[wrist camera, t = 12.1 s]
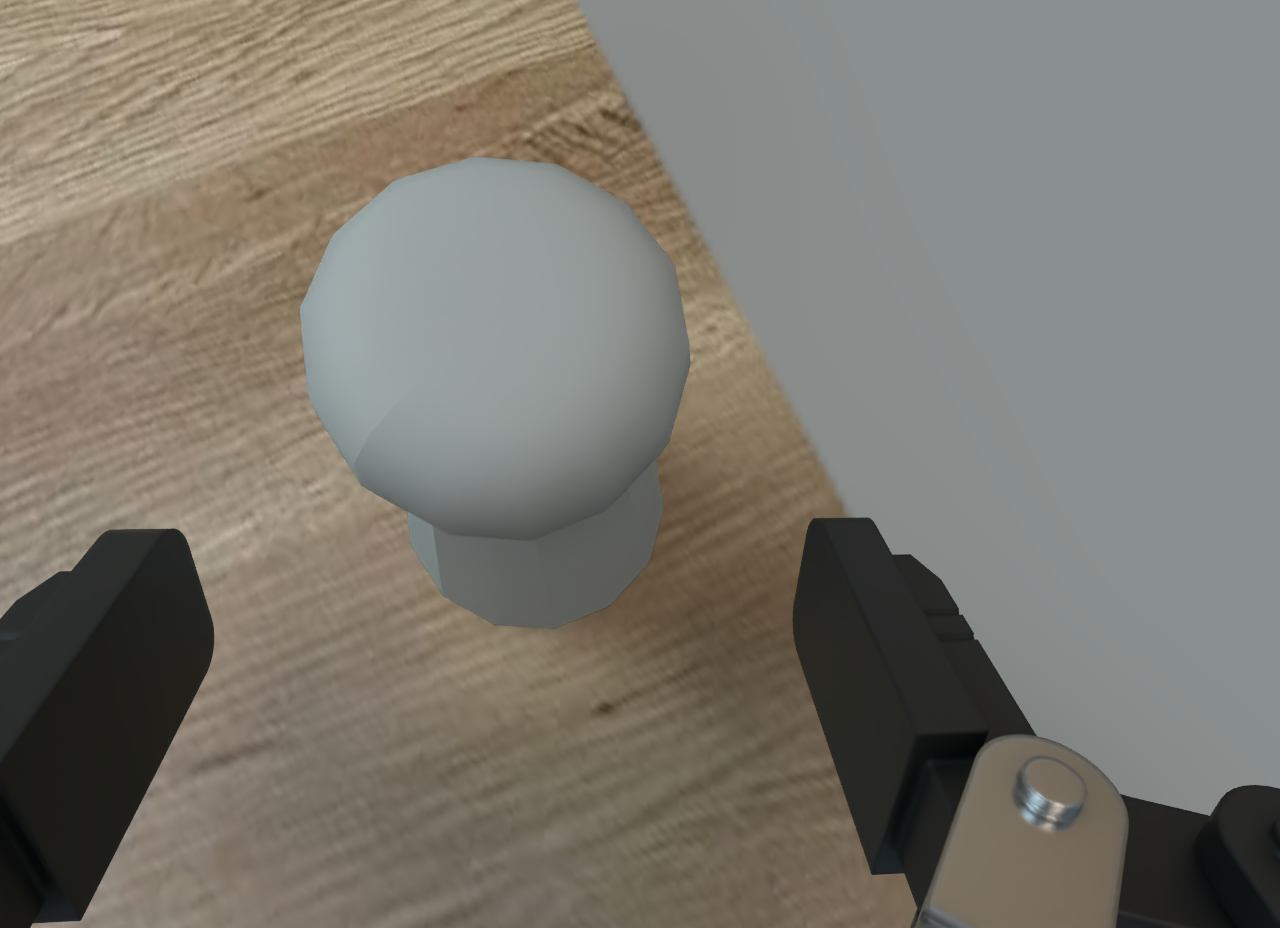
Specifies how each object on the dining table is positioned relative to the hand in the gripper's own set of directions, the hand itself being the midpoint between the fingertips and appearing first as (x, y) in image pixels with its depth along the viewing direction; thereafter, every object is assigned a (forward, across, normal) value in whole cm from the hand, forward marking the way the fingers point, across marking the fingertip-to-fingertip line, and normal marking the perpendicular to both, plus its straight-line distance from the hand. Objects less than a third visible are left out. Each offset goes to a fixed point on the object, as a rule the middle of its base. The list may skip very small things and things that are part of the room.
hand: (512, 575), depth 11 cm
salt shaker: (+9, 0, -5) cm, 10 cm away
